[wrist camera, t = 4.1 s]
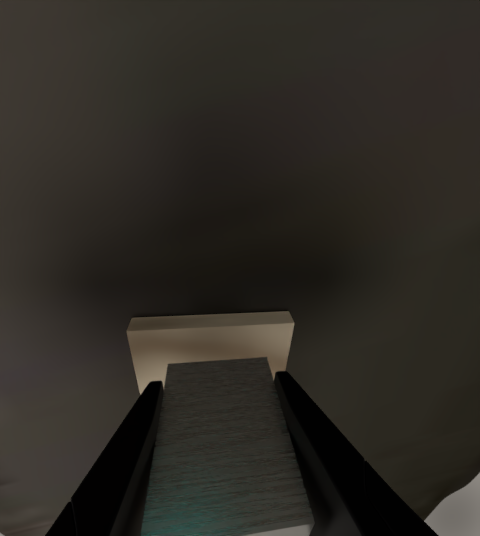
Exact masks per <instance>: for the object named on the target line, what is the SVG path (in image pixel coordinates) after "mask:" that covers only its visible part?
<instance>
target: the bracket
mask: <svg viewBox="0 0 480 536" xmlns="http://www.w3.org/2000/svg"><path fill="white" fill-rule="evenodd" d="M294 324H295V323H294V321H293V319H292V317H291V315H290V313H289V311H280V312H256V313H233V314H209V315H185V316H162V317H138V318H132V319H131V321H130V324H129V326H128V329H127V331H126V332H127V336H128V341H129V346H130V350H131V355H132V359H133V364H134V369H135V373H136V378H137V382H138V387H139V392H140V395H141V394H142V392H143V391H144V389H145V388H146V386H147V385H148V384H149V382H151V381H162V382H163V388H164V385H165V378H166V372H167V366H168V364H171V363H186V362H200V361H215V360H230V359H244V358H259V357H267V359H268V362H269V366H270V369H271V373H272V376H273V380H274V377H275V373H276V372H277V371H285V369H286V364H287V359H288V354H289V349H290V344H291V339H292V334H293V329H294Z"/></svg>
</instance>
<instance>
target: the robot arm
mask: <svg viewBox="0 0 480 536" xmlns="http://www.w3.org/2000/svg"><path fill="white" fill-rule="evenodd" d="M274 384H275V388H276V391H277V395H278V398H279V402H280V405H281V409H282V412H283V415H284V419H285V421H286V425H287V428H288V432H289V435H290V439H291V442H292V445H293V449H294V452H295V456H296V459H297V463H298V466H299V470H300V473H301V477H302V480H303V484H304V487H305V490H306V494H307V497H308V501H309V504H310V508H311V511H312V515H313V518H314V522H315V524H314V526H313V528H312V530H311V532H310V536H438V535H437V534H436V533H435V532H434V531H433V530H432V529H431V528H430V527H429V526H428V525H427V524H426V523H425V522H424V521H423V520H422V519H421V518H420V517H419V516H418V515H417V514H416V513H415V512H414V511H413V510H412V509H411V508H410V507H409V506H408V505H407V504H406V503H405V502H404V501H403V500H402V499H401V498H400V497H399V496H398V495H397V494H396V493H395V492H394V491H393V490H392V489H391V488H390V486H389V485H388V484H387V483H386V482H385V481H384V480H383V479H382V478H381V477H380V476H379V475H378V473H377V472H376V471H375V470H374V469H373V468H372V467H371V466H370V464H369V463H368V462H367V461H365V460H364V458H363V457H362V455H361V454H360V453H359V452H358V451H357V450H356V449H355V448H354V446H353V445H352V444H351V443H350V442H349V441H348V440H347V438H346V437H345V436H344V435H343V434H342V433H341V432H340V431H339V429H338V428H337V427H336V426H335V425H334V424H333V423H332V422H331V420H330V419H329V418H328V417H327V416H326V415H325V414H324V412H323V411H322V410H321V409H320V408H319V407H318V406H317V405H316V403H315V402H314V401H313V400H312V399H311V398H310V397H309V396H308V394H307V393H306V392H305V391H304V390H303V389H302V388H301V386H300V385H299V384H298V383H297V382H296V381H295V380H294V379H293V377H292V376H291V375H290V374H289V373H288V372H287V371H277V372H276V373H275V377H274ZM163 394H164V388H163V382H162V381H151V382H149V384H148V385H147V386H146V388H145V389H144V391H143V392H142V394H141V395H140V397H139V398H138V400H137V401H136V403H135V404H134V406H133V407H132V409H131V410H130V412H129V413H128V414H127V416H126V417H125V419H124V420H123V422H122V423H121V425H120V426H119V428H118V429H117V431H116V432H115V434H114V435H113V437H112V438H111V440H110V441H109V443H108V444H107V446H106V447H105V449H104V450H103V451H102V453H101V454H100V456H99V457H98V459H97V460H96V462H95V463H94V465H93V466H92V468H91V469H90V471H89V472H88V474H87V475H86V477H85V478H84V480H83V481H82V483H81V484H80V486H79V487H78V488H77V490H76V491H75V493H74V494H73V496H72V497H71V502H68V503H67V505H66V506H65V508H64V509H63V510H62V512H61V513H60V515H59V516H58V518H57V519H56V521H55V522H54V524H53V525H52V527H51V528H50V529H49V531H48V532H47V534H46V535H45V536H140V535H141V529H142V523H143V517H144V510H145V504H146V498H147V491H148V485H149V479H150V473H151V466H152V460H153V454H154V447H155V441H156V436H157V431H158V425H159V419H160V413H161V406H162V400H163Z"/></svg>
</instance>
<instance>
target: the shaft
mask: <svg viewBox="0 0 480 536" xmlns="http://www.w3.org/2000/svg"><path fill="white" fill-rule="evenodd" d="M314 524H315V522H314V518H313V515H312V511H311V508H310V504H309V501H308V497H307V494H306V490H305V487H304V484H303V480H302V477H301V473H300V470H299V466H298V463H297V459H296V456H295V452H294V449H293V445H292V442H291V439H290V435H289V432H288V428H287V425H286V421H285V419H284V415H283V412H282V409H281V405H280V402H279V398H278V395H277V391H276V388H275V384H274V380H273V376H272V373H271V369H270V366H269V362H268V359H267V357H259V358H244V359H230V360H215V361H200V362H186V363H171V364H168V366H167V372H166V378H165V385H164V394H163V400H162V406H161V413H160V419H159V425H158V431H157V436H156V441H155V447H154V454H153V460H152V466H151V473H150V479H149V485H148V491H147V498H146V504H145V510H144V517H143V523H142V529H141V535H140V536H309V534H310V532H311V530H312V528H313V526H314Z"/></svg>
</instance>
